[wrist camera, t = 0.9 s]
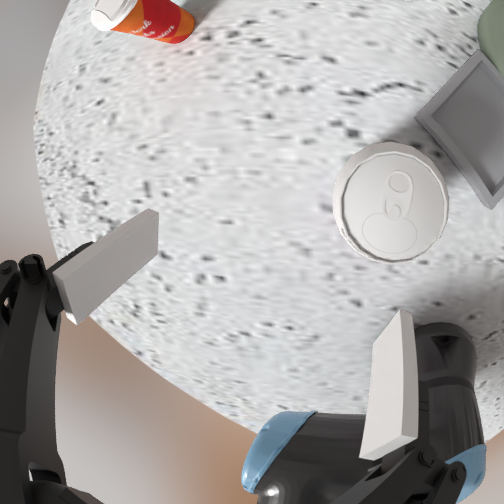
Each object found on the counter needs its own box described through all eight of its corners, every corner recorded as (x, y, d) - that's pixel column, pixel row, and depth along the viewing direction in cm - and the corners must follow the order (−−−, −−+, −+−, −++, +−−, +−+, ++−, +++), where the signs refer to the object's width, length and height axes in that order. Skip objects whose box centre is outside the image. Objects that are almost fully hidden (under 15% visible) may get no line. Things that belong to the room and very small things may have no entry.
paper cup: (152, 46, 31) (80, 29, 19) (172, 6, 28) (106, -22, 16) (188, 54, 30) (112, 29, 18) (211, 10, 26) (144, -28, 14)
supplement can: (408, 225, 28) (436, 284, 15) (340, 211, 31) (320, 257, 18) (420, 156, 25) (466, 160, 12) (349, 141, 27) (337, 130, 15)
